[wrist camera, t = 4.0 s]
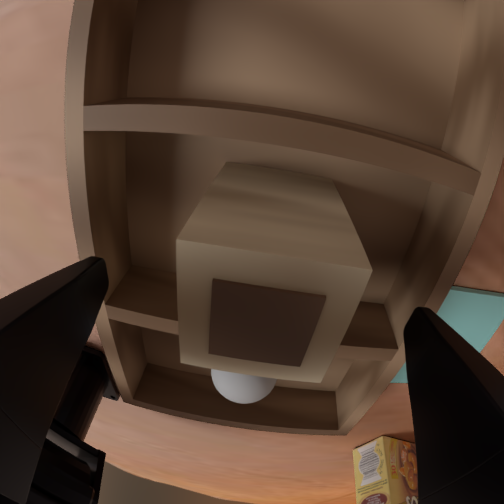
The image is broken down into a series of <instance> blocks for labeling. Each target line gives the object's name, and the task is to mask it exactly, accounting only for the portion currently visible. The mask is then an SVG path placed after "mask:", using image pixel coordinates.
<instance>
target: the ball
mask: <svg viewBox="0 0 504 504" xmlns="http://www.w3.org/2000/svg"><path fill="white" fill-rule="evenodd" d="M211 376H212V380H213V383H214V385H215V387H216V389H217V390H218V391H219V393H220V394H221V395H223V396H224V397H225V398H227V399H228V400H230V401H233V402H236V403H242V404H247V403H253V402H257V401H259V400H261V399H263V398H264V397H266V396H267V395H268V394H269V393H270V392H271V391H272V389H273V388H274V386H275V384H276V381H277V379H275V378H267V377H259V376H252V375H245V374H238V373H232V372H226V371H220V370H215V369H211Z"/></svg>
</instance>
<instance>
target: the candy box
mask: <svg viewBox="0 0 504 504" xmlns="http://www.w3.org/2000/svg"><path fill="white" fill-rule="evenodd" d="M353 460H354V473H355V487H356V502H357V504H418V501H419V500H418V480H417V461H416V447H415V443H409V442H406V441H401V440H397V439H394V438H390V437H386V436H381V437H379V438H377V439H375V440H373V441H371V442H369V443H367V444H365V445H362V446H360V447H358V448H355V449H353Z"/></svg>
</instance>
